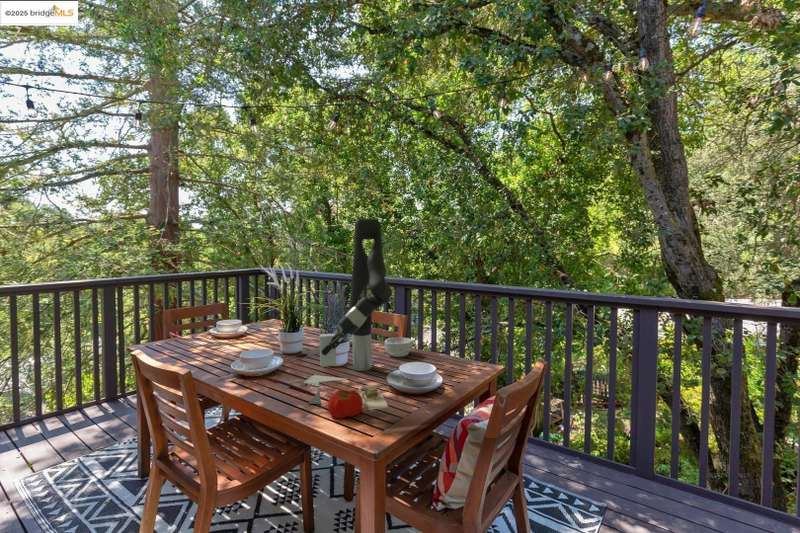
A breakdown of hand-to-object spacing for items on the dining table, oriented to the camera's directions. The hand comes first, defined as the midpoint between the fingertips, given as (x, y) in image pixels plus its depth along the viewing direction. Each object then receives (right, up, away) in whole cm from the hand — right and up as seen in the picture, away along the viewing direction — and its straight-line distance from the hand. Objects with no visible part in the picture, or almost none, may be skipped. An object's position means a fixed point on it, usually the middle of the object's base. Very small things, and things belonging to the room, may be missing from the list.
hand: (322, 352), depth 165 cm
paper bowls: (+30, -14, +61) cm, 70 cm away
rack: (+20, -19, -1) cm, 28 cm away
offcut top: (+19, -17, +4) cm, 25 cm away
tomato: (+10, -21, -13) cm, 27 cm away
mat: (0, -19, +3) cm, 20 cm away
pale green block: (+2, -5, +1) cm, 6 cm away
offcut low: (+19, -18, +4) cm, 26 cm away
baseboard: (+4, -19, +18) cm, 26 cm away
